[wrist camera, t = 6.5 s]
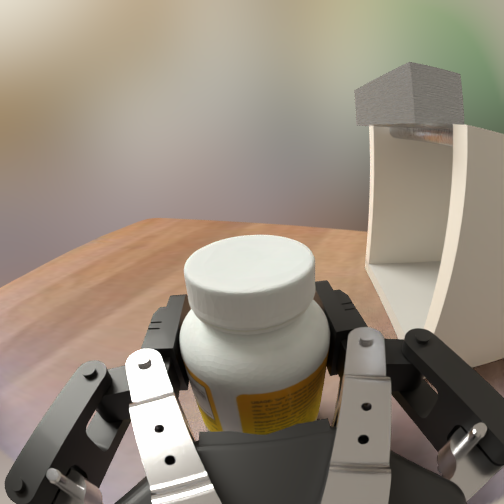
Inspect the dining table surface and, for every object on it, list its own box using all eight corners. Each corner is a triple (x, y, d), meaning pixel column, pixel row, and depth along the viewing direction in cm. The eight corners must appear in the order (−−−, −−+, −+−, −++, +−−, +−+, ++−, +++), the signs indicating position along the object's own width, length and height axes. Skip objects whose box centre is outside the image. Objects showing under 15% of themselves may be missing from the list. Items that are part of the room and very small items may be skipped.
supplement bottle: (192, 449, 11) (122, 285, 7) (236, 380, 16) (213, 224, 12) (297, 483, 9) (318, 325, 5) (326, 399, 14) (345, 233, 10)
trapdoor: (419, 143, 10) (413, 59, 8) (355, 136, 21) (352, 91, 19) (577, 179, 8) (578, 126, 6) (493, 152, 19) (492, 115, 17)
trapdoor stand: (415, 380, 14) (467, 125, 8) (364, 267, 27) (369, 124, 22) (564, 333, 11) (605, 177, 6) (492, 261, 25) (507, 145, 19)
